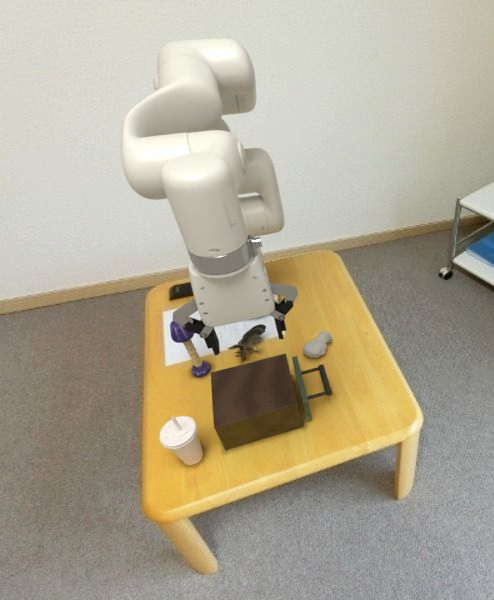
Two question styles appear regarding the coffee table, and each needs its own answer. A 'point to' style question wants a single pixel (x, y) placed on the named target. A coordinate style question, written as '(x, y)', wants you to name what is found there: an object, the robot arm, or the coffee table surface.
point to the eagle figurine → (249, 341)
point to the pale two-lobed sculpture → (317, 345)
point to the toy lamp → (189, 349)
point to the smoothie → (182, 439)
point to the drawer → (302, 386)
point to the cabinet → (254, 401)
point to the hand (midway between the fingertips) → (249, 340)
